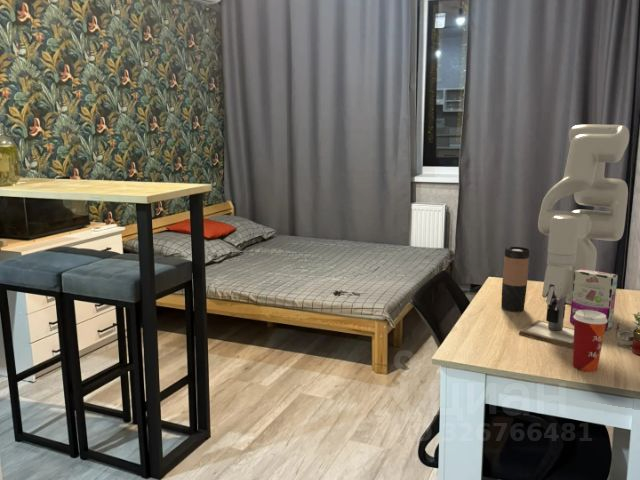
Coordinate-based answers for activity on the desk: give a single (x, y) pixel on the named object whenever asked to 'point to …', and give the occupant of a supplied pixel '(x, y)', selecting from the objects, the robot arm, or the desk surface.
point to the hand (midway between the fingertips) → (555, 319)
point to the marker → (559, 325)
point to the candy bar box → (594, 293)
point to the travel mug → (515, 278)
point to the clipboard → (549, 333)
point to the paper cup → (588, 339)
